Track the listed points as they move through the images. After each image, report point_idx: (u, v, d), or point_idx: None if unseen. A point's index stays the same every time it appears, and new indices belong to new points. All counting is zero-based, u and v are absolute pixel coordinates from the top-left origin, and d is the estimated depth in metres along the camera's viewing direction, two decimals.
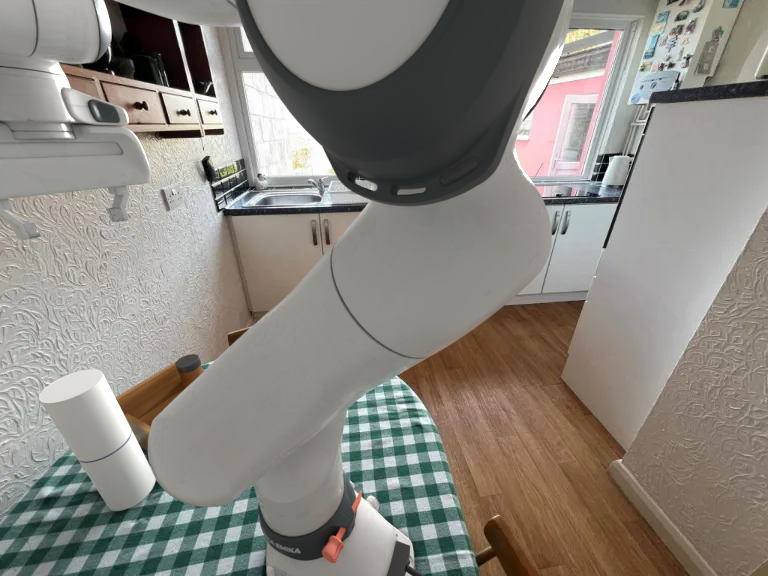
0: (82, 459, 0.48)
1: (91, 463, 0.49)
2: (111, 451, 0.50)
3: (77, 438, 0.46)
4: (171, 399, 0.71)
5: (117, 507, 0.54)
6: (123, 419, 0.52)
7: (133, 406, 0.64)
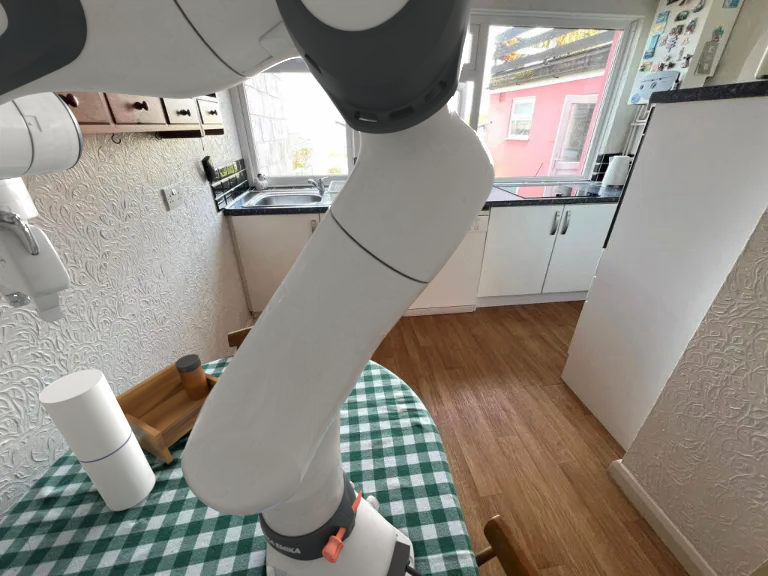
0: (82, 459, 0.48)
1: (91, 463, 0.49)
2: (111, 451, 0.50)
3: (77, 438, 0.46)
4: (171, 399, 0.71)
5: (117, 507, 0.54)
6: (123, 419, 0.52)
7: (133, 406, 0.64)
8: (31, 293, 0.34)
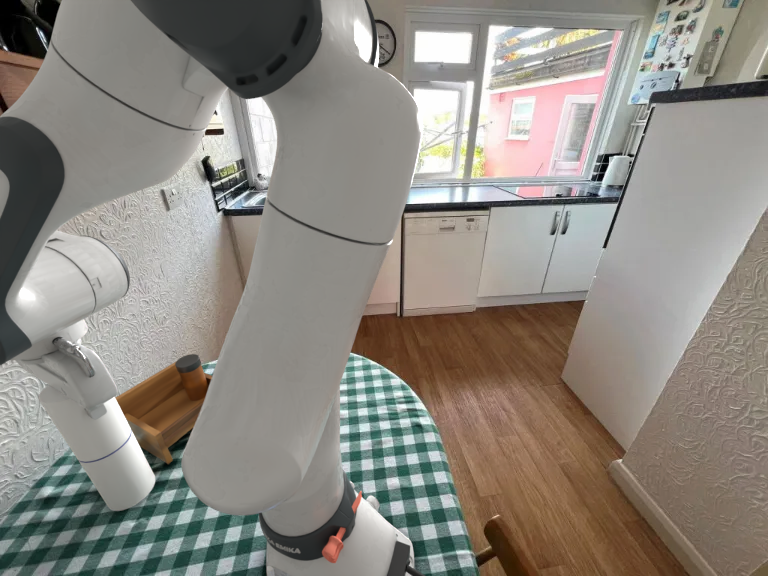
0: (82, 459, 0.48)
1: (91, 463, 0.49)
2: (111, 451, 0.50)
3: (77, 438, 0.46)
4: (171, 399, 0.71)
5: (117, 507, 0.54)
6: (123, 419, 0.52)
7: (133, 406, 0.64)
8: (88, 407, 0.41)
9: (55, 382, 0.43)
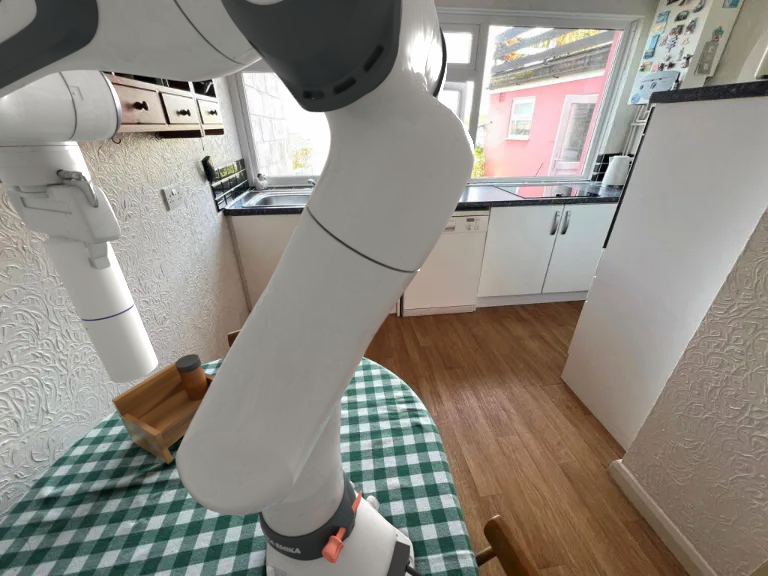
0: (85, 317, 0.49)
1: (94, 322, 0.49)
2: (114, 312, 0.50)
3: (81, 290, 0.47)
4: (171, 399, 0.71)
5: (120, 378, 0.54)
6: (126, 286, 0.52)
7: (133, 406, 0.64)
8: (92, 239, 0.41)
9: (59, 222, 0.43)
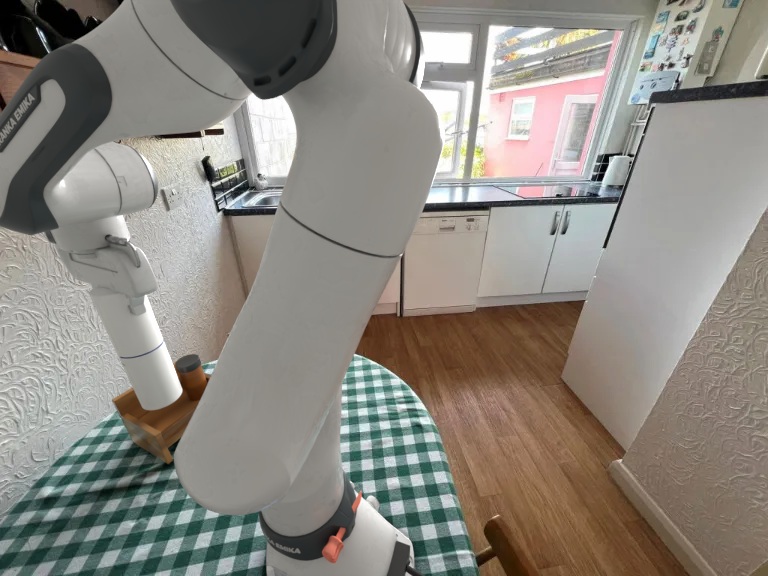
0: (123, 355, 0.55)
1: (131, 359, 0.56)
2: (148, 350, 0.57)
3: (121, 333, 0.54)
4: None
5: (151, 406, 0.61)
6: (157, 326, 0.59)
7: (133, 406, 0.64)
8: (134, 294, 0.48)
9: (105, 277, 0.50)
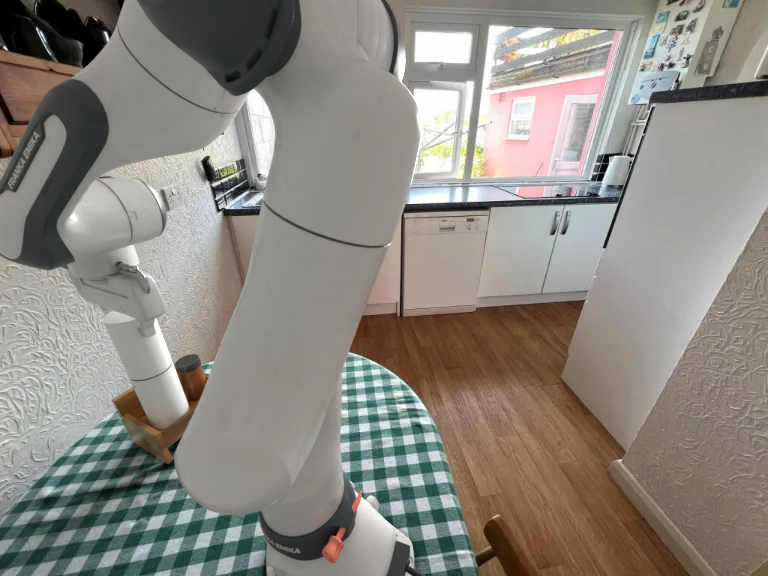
0: (134, 378, 0.58)
1: (142, 382, 0.58)
2: (158, 373, 0.59)
3: (132, 358, 0.56)
4: None
5: (160, 425, 0.63)
6: (166, 348, 0.61)
7: (133, 406, 0.64)
8: (144, 319, 0.50)
9: (115, 302, 0.52)
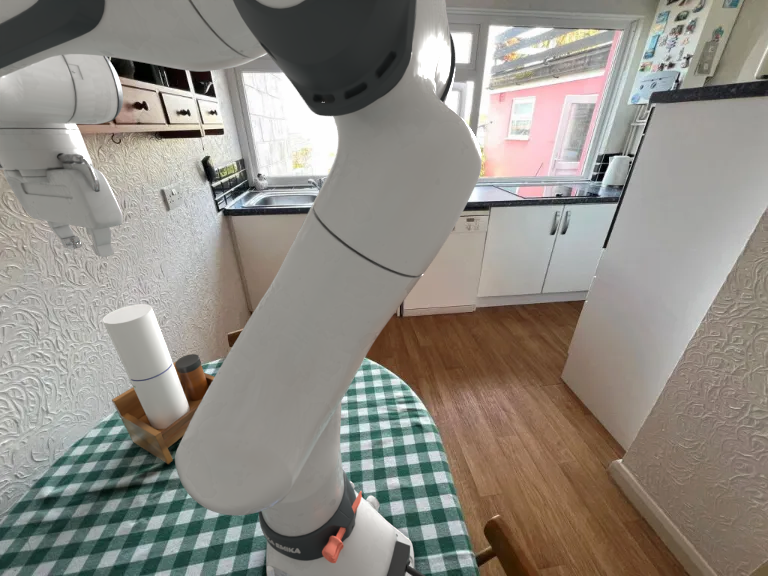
0: (134, 378, 0.58)
1: (142, 382, 0.58)
2: (158, 373, 0.59)
3: (132, 358, 0.56)
4: None
5: (160, 425, 0.63)
6: (166, 348, 0.61)
7: (133, 406, 0.64)
8: (93, 224, 0.41)
9: (60, 208, 0.43)
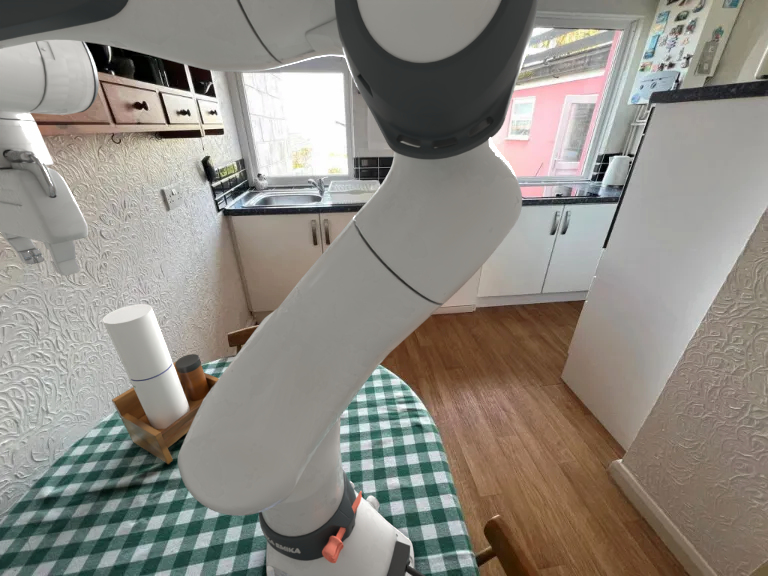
0: (134, 378, 0.58)
1: (142, 382, 0.58)
2: (158, 373, 0.59)
3: (132, 358, 0.56)
4: None
5: (160, 425, 0.63)
6: (166, 348, 0.61)
7: (133, 406, 0.64)
8: (48, 238, 0.33)
9: (10, 217, 0.35)
